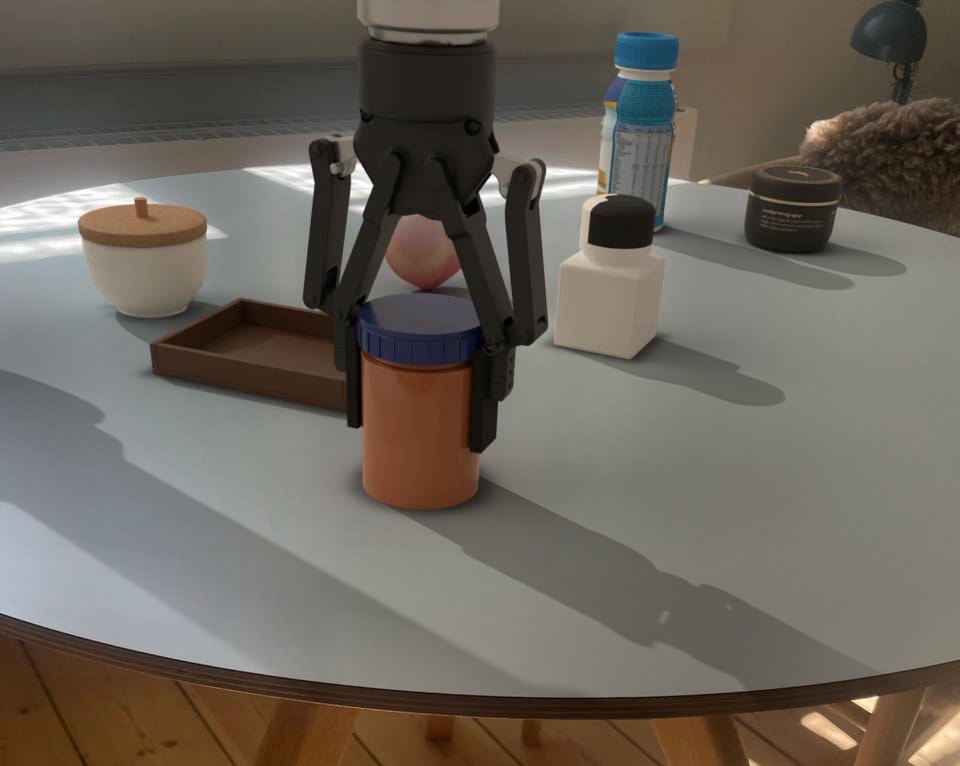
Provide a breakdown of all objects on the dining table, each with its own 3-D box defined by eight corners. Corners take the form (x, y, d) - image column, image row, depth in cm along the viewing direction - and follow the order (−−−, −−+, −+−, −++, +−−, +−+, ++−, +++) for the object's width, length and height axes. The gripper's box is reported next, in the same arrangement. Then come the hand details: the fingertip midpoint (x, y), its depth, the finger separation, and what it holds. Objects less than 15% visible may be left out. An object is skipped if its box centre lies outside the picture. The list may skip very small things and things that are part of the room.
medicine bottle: (656, 337, 103) (674, 196, 96) (630, 361, 97) (648, 213, 91) (581, 323, 105) (594, 184, 98) (552, 346, 100) (563, 201, 93)
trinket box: (153, 335, 98) (139, 220, 92) (64, 310, 102) (46, 199, 97) (238, 305, 105) (230, 197, 100) (152, 282, 110) (140, 178, 105)
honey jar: (342, 495, 74) (338, 334, 68) (392, 451, 80) (393, 299, 74) (451, 520, 72) (456, 355, 66) (495, 473, 78) (503, 318, 72)
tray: (152, 374, 90) (148, 343, 89) (241, 325, 101) (239, 297, 99) (350, 414, 85) (349, 381, 84) (422, 358, 96) (423, 329, 94)
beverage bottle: (630, 240, 130) (652, 41, 119) (576, 224, 135) (592, 31, 124) (678, 229, 135) (704, 37, 124) (624, 214, 140) (644, 28, 129)
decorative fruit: (439, 272, 117) (441, 167, 111) (487, 293, 111) (493, 184, 106) (359, 285, 112) (357, 176, 106) (406, 308, 107) (407, 195, 101)
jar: (753, 228, 137) (764, 159, 133) (838, 241, 134) (852, 171, 129) (730, 247, 130) (741, 175, 125) (819, 261, 126) (834, 187, 122)
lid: (470, 319, 75) (471, 290, 74) (502, 363, 69) (504, 331, 68) (348, 324, 73) (347, 294, 72) (369, 369, 67) (369, 337, 66)
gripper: (221, 23, 62) (250, 423, 74) (592, 59, 56) (555, 487, 68) (291, 12, 67) (307, 385, 80) (633, 44, 62) (592, 441, 74)
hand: (421, 432), depth 74 cm, fingers closed on lid, 8 cm apart
